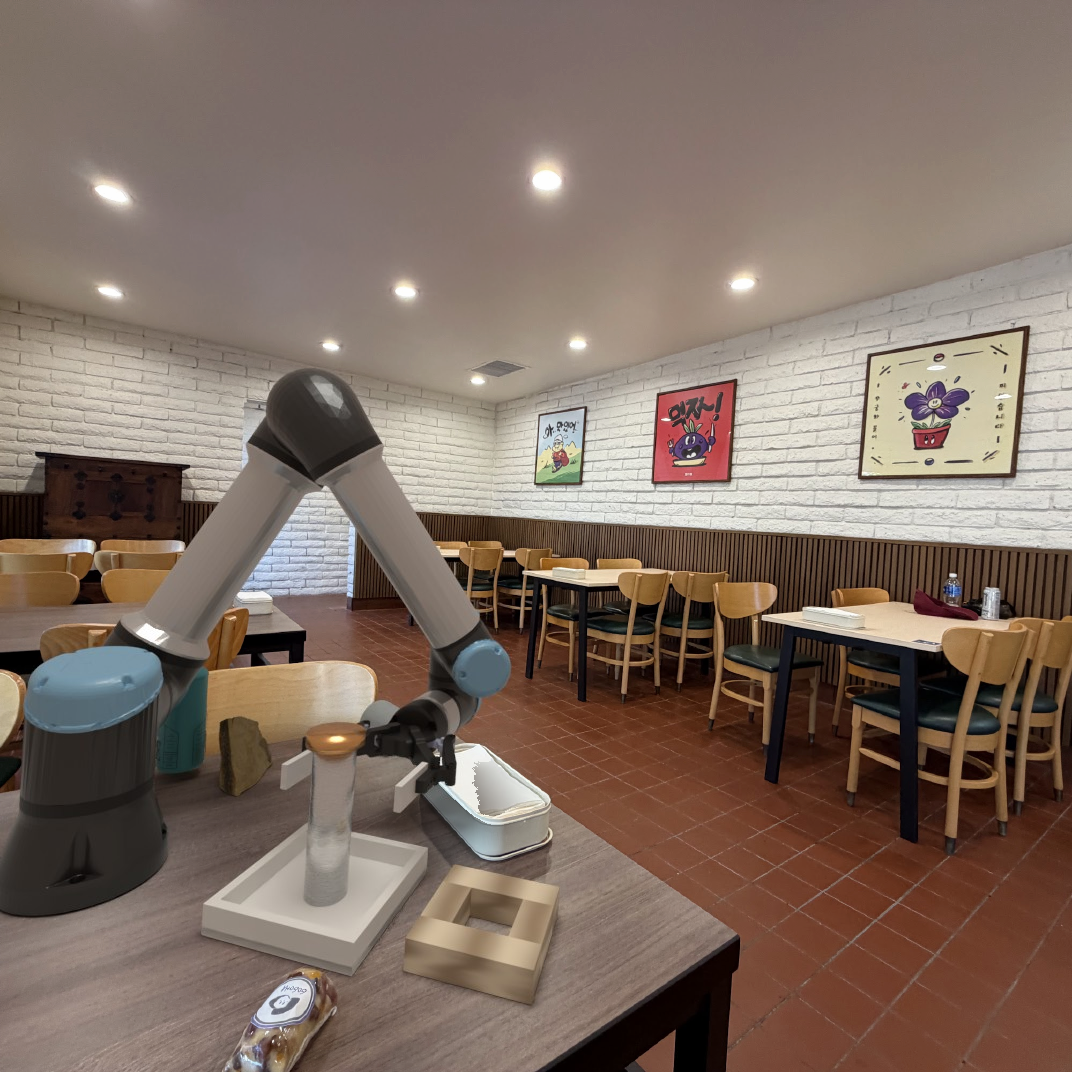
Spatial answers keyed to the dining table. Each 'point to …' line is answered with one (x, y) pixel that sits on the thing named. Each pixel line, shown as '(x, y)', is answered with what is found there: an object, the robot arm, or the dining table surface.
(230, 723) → the rock
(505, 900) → the block
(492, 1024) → the dining table surface
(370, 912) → the tray
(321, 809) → the steel pin
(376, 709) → the ceramic mug
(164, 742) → the beverage bottle
